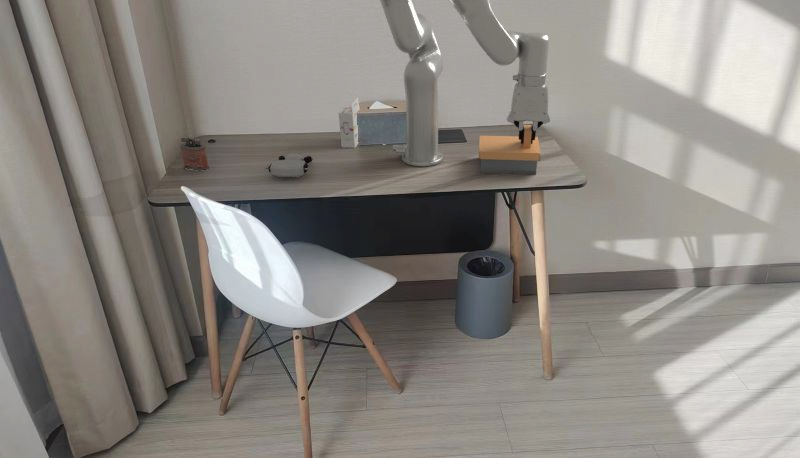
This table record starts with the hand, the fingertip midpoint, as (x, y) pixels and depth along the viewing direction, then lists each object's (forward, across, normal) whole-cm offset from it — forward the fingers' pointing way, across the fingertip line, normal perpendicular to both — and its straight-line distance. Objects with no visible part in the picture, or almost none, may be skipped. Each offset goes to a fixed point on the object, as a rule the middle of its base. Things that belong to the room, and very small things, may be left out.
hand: (526, 141), depth 177 cm
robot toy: (+8, -69, -10) cm, 70 cm away
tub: (+8, -5, 0) cm, 9 cm away
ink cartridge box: (+8, -56, +15) cm, 59 cm away
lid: (+3, -5, 0) cm, 6 cm away
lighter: (+8, -99, -10) cm, 100 cm away
